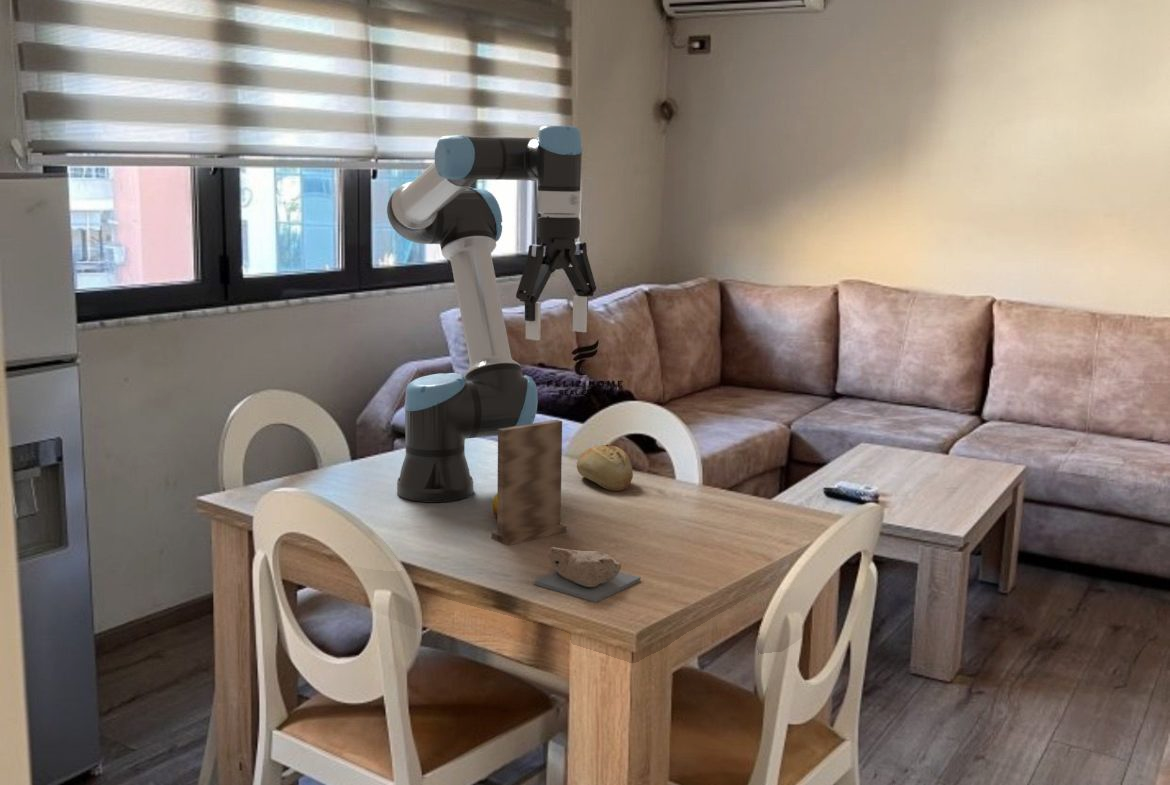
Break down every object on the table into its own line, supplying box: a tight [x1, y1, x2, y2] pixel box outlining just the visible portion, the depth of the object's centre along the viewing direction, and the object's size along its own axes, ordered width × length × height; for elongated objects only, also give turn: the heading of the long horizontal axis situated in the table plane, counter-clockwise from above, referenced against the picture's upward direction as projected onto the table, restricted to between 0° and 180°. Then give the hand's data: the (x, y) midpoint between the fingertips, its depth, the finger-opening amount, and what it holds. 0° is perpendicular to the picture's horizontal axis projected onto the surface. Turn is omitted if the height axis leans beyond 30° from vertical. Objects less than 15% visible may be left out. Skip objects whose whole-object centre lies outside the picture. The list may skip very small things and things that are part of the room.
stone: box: [548, 546, 622, 587], centre depth 186 cm, size 9×11×5 cm
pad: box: [533, 570, 642, 603], centre depth 186 cm, size 12×12×1 cm
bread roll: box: [576, 444, 634, 492], centre depth 243 cm, size 10×15×8 cm, turn 34°
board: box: [491, 419, 567, 546], centre depth 207 cm, size 13×5×20 cm, turn 131°
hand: (556, 335), depth 211 cm, fingers open, 13 cm apart
